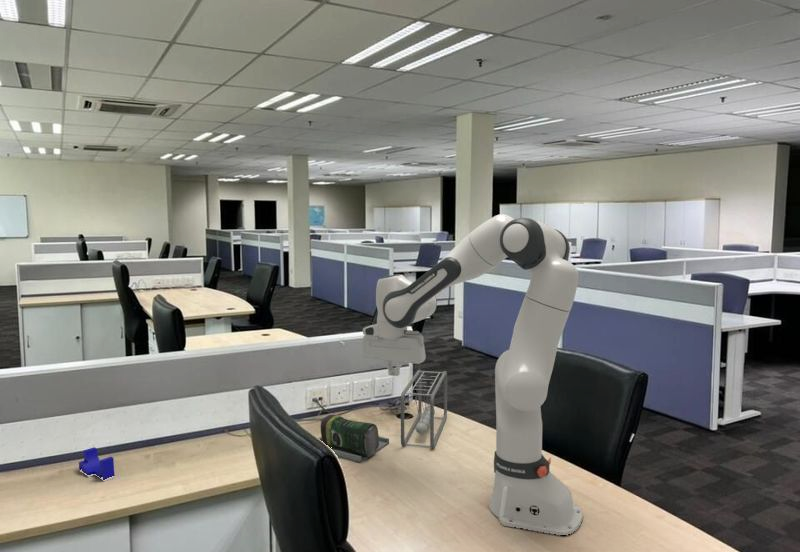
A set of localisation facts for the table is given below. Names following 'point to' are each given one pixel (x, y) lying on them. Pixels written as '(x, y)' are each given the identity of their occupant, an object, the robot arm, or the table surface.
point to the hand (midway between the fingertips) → (394, 375)
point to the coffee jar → (350, 435)
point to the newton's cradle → (429, 411)
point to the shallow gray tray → (353, 456)
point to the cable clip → (97, 464)
